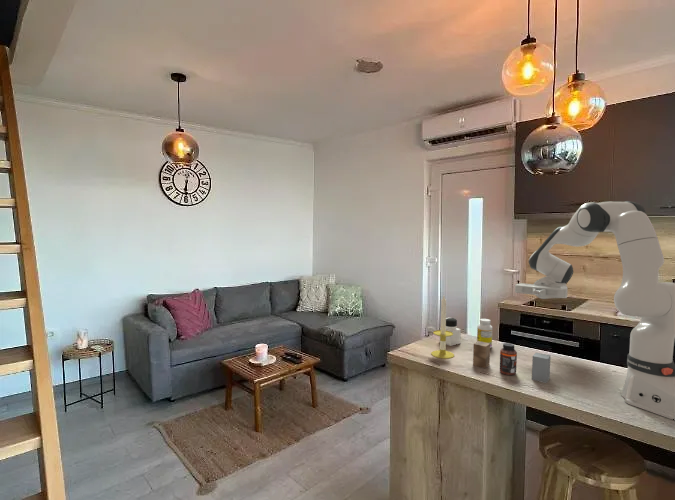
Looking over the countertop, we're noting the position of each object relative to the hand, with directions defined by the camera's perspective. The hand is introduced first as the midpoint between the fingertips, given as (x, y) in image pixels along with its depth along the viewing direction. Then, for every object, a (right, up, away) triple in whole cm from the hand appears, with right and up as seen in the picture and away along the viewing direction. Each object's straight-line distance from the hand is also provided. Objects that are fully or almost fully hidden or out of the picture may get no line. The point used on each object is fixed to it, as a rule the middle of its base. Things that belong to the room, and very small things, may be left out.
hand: (536, 292), depth 161 cm
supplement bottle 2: (-17, -30, -10) cm, 36 cm away
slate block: (-7, -31, -16) cm, 35 cm away
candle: (-36, -29, +10) cm, 47 cm away
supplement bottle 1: (-14, -28, +21) cm, 38 cm away
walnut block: (-24, -29, -2) cm, 38 cm away
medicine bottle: (-28, -27, +27) cm, 48 cm away
